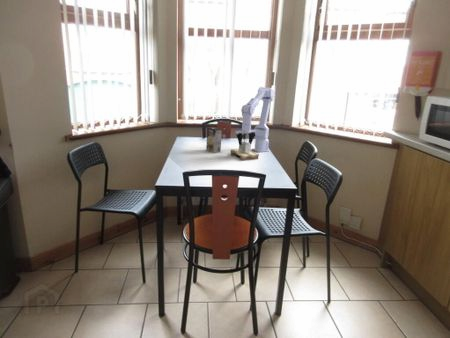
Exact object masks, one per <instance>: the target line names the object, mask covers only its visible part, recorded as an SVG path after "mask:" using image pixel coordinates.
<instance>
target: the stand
mask: <svg viewBox="0 0 450 338" xmlns="http://www.w3.org/2000/svg"><path fill="white" fill-rule="evenodd" d="M230 155H231V156H235V155H237V156H239V157H240V160H241V161H249V160H250V161H251V160H259V156H260V155H259V154H258V152H257V153H256V151H252V150H250V153H248V154H245V153H243V152H241V151H239V148H237V149H235V148H233V149H230Z"/></svg>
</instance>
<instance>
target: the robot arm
mask: <svg viewBox="0 0 450 338" xmlns="http://www.w3.org/2000/svg"><path fill="white" fill-rule="evenodd" d="M274 95H275V89H274V88H273V87H265V86H260V87H259V88H258V90H257V94H256V95H255V96H254V97H252V98H251V99H250V100H249V101H248V102H247V103H246V104H244V105H242V107H241V109H240V110H241V111H240V112H241V116H242V123H241V129H239V130H235V134H236V138H237V140H238V145H241V144H242V142H243V137H244V134H247V135H248V143H250V144H251V145H252V143H253V140H254V139H255V140H254V148H251V149H252V150H253V151H254V152H257V153H261V152H263V153H264V152H269V146H270V140H269V139H268V138H269V135H270V133H269V131H270V128H269V127H268V126H267V122H268V117H269V113H270V109H271V103H272V101H274V98H275V96H274ZM261 100H262V101H263V102H262V107H261V112H260V117H259V123H258V124H257V125H255V127H254V129H252V118H253V114H254V113H255V110H256V108H257V106H258V105H259V102H260V101H261ZM252 150H251V151H252Z"/></svg>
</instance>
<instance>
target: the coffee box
mask: <svg viewBox="0 0 450 338" xmlns="http://www.w3.org/2000/svg"><path fill="white" fill-rule="evenodd" d="M222 133H223V128H219V127H215V126H209V127H206V144H205V146H206V150H205V151H208V152H210V153H212V154H215V153H221V152H222V151H221V150H222V135H223V134H222Z"/></svg>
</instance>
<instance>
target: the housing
mask: <svg viewBox="0 0 450 338" xmlns="http://www.w3.org/2000/svg"><path fill="white" fill-rule="evenodd" d="M238 145H239V144H238ZM238 149H239V151H241V152H243V153H245V154H248V153H250V151H252V150H251V149H252V143H251V144H250V143H249V142H247V141H246V140H242V144H241V145H239V146H238Z"/></svg>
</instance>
